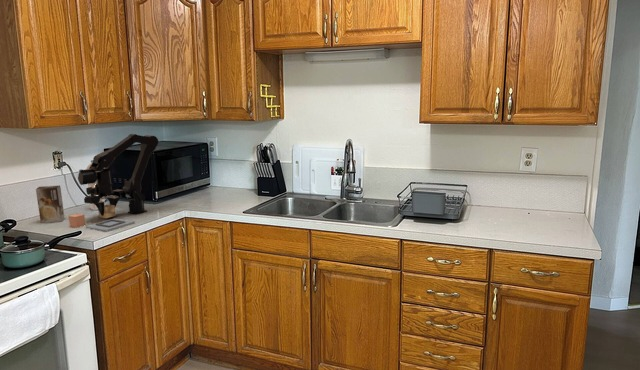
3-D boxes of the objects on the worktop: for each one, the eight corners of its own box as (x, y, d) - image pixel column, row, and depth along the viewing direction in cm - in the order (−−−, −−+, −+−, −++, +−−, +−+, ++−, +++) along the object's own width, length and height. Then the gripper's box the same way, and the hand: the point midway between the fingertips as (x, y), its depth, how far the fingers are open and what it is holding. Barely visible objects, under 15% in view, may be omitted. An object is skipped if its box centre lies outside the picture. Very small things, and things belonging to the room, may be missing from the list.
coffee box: (65, 218, 225) (61, 185, 222) (62, 221, 219) (57, 187, 216) (43, 219, 223) (39, 186, 220) (39, 223, 217) (35, 188, 214)
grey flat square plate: (114, 220, 221) (114, 217, 220) (134, 223, 215) (134, 220, 214) (86, 228, 207) (85, 225, 207) (106, 231, 202) (106, 228, 201)
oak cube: (108, 214, 227) (107, 204, 226) (115, 215, 225) (114, 205, 224) (99, 217, 223) (98, 206, 222) (106, 218, 221) (105, 207, 220)
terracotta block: (79, 224, 215) (77, 213, 214) (85, 225, 212) (84, 214, 212) (69, 226, 211) (68, 215, 210) (76, 228, 209) (75, 217, 208)
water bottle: (90, 210, 239) (84, 161, 234) (90, 207, 245) (85, 159, 240) (105, 209, 242) (100, 160, 237) (105, 206, 248) (100, 158, 243)
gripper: (108, 177, 232) (112, 208, 236) (74, 183, 216) (78, 217, 219) (124, 178, 227) (128, 210, 230) (90, 185, 211) (94, 219, 214)
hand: (107, 214), depth 224 cm, fingers closed on oak cube, 5 cm apart
